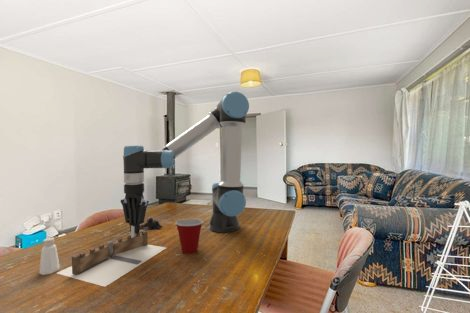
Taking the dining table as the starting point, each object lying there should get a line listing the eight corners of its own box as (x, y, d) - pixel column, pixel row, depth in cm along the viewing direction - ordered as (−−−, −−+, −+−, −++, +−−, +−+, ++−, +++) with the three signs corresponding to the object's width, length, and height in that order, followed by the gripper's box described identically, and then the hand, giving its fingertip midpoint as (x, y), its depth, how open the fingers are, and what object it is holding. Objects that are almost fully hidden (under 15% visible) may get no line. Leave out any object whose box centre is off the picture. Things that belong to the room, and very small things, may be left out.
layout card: (166, 248, 92) (166, 247, 92) (104, 288, 66) (104, 286, 66) (125, 241, 100) (125, 240, 100) (56, 274, 74) (56, 272, 74)
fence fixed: (75, 274, 72) (74, 257, 72) (72, 274, 73) (71, 256, 73) (108, 257, 83) (108, 242, 83) (105, 257, 84) (105, 242, 84)
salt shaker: (64, 267, 79) (62, 235, 78) (52, 275, 73) (50, 241, 73) (48, 267, 78) (46, 236, 78) (34, 276, 73) (33, 242, 73)
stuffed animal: (163, 221, 125) (160, 214, 115) (162, 240, 120) (159, 234, 110) (141, 222, 123) (136, 215, 113) (138, 241, 118) (133, 235, 108)
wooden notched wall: (108, 257, 83) (108, 242, 83) (106, 256, 85) (106, 241, 85) (147, 244, 94) (147, 231, 94) (145, 243, 96) (145, 230, 96)
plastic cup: (208, 246, 93) (207, 217, 93) (195, 258, 83) (194, 226, 83) (185, 243, 97) (184, 215, 96) (170, 254, 86) (169, 223, 86)
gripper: (114, 183, 91) (115, 241, 92) (139, 185, 87) (140, 246, 87) (129, 181, 98) (130, 235, 99) (153, 182, 94) (153, 239, 94)
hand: (135, 240), depth 93 cm, fingers closed
